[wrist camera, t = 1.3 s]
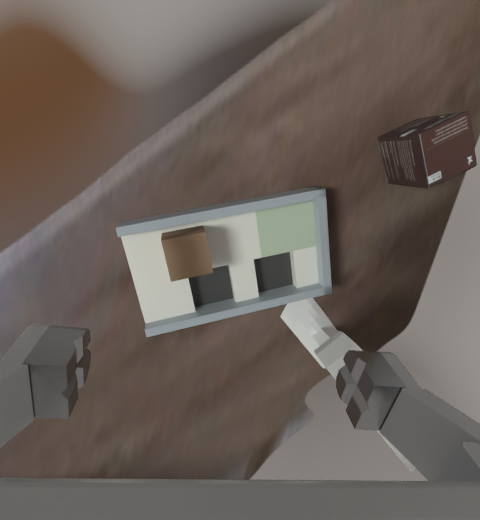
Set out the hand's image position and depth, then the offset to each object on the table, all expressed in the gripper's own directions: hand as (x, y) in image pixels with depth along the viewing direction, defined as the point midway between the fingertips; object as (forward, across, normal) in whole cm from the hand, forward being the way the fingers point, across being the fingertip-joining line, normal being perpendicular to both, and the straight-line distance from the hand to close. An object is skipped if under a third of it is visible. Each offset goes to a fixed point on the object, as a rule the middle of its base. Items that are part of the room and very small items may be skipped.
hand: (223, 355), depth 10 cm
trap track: (+28, +3, -9) cm, 29 cm away
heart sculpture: (+28, +18, -19) cm, 38 cm away
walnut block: (+26, -2, -8) cm, 27 cm away
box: (+32, +23, +6) cm, 40 cm away
